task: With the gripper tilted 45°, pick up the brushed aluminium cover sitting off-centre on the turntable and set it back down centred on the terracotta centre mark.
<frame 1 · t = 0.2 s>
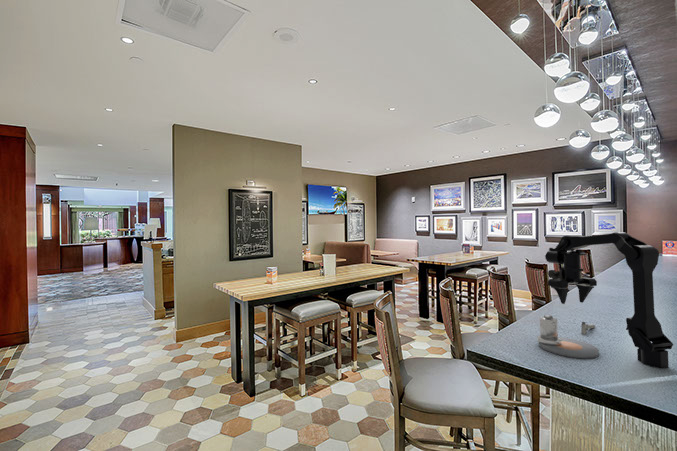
hand: (572, 303, 130), 15 cm above the countertop, tool pointing down, fingers open, 9 cm apart
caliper: (588, 332, 138), on the countertop
cover: (549, 342, 119), point 2 cm above the countertop, touching turntable
turntable: (567, 346, 116), point 2 cm above the countertop, hinge at 0.0°, touching cover
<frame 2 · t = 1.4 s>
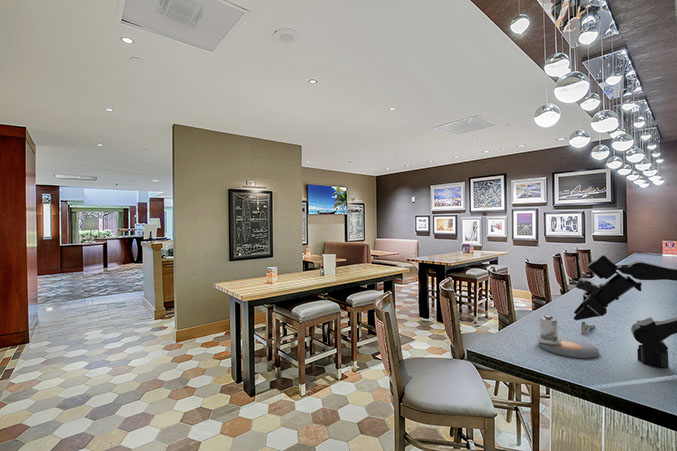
hand: (574, 316, 115), 13 cm above the countertop, tool tilted 45°, fingers open, 9 cm apart
nothing on the countertop moved.
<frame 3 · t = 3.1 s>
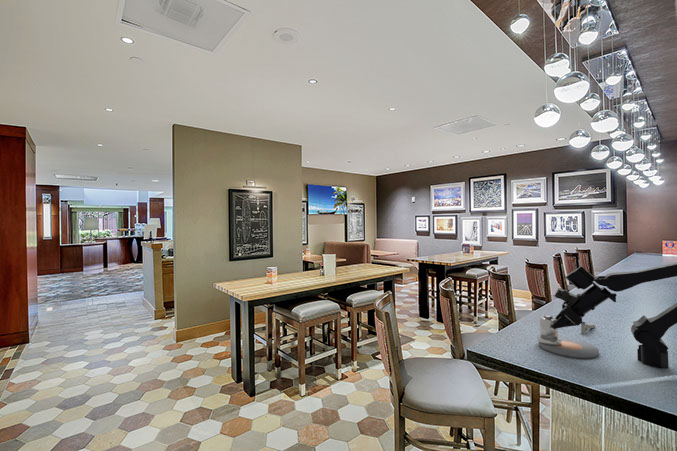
hand: (553, 324, 119), 9 cm above the countertop, tool tilted 45°, fingers open, 9 cm apart
nothing on the countertop moved.
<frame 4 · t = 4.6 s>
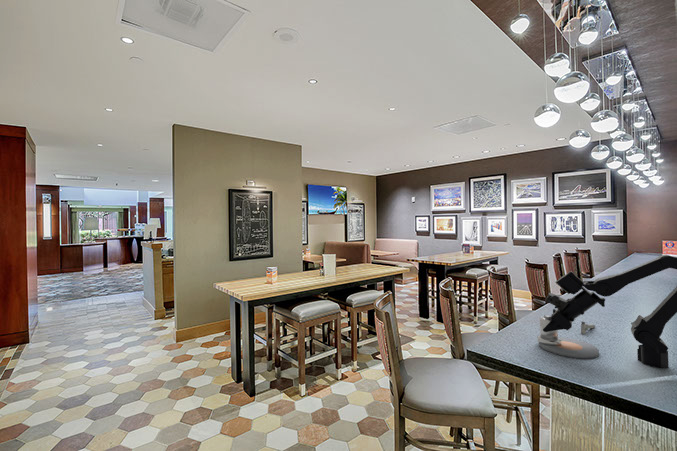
hand: (544, 328, 120), 7 cm above the countertop, tool tilted 45°, fingers closed on cover, 6 cm apart
cover: (549, 342, 119), point 2 cm above the countertop, touching gripper, turntable
everything else where it was.
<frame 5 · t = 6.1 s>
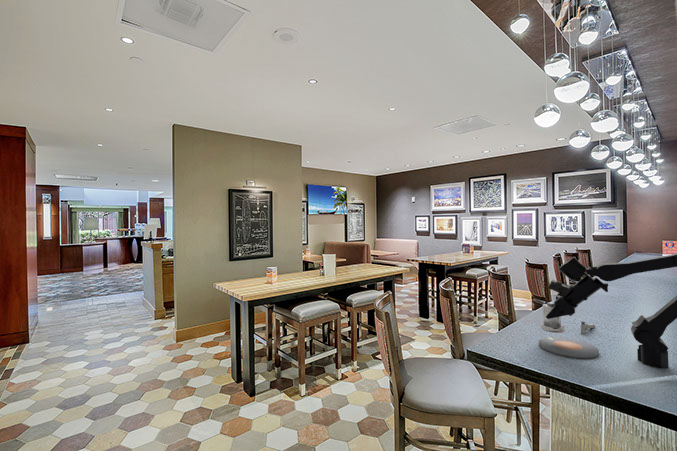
hand: (547, 316, 120), 12 cm above the countertop, tool tilted 45°, fingers closed on cover, 6 cm apart
cover: (552, 329, 119), point 7 cm above the countertop, touching gripper
turntable: (567, 346, 116), point 2 cm above the countertop, hinge at 0.0°
everything else where it was.
when the fingers open (8 cm above the countertop, at t = 8.1 s): cover drops 1 cm, resting on turntable.
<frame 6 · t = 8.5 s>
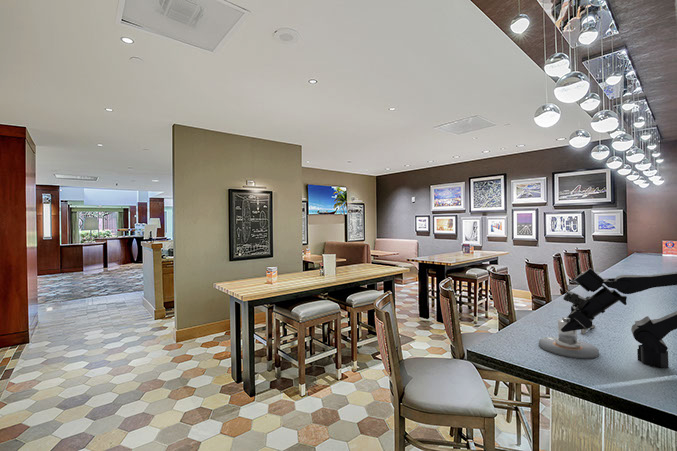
hand: (562, 327, 117), 9 cm above the countertop, tool tilted 45°, fingers open, 9 cm apart
cover: (567, 345, 116), point 2 cm above the countertop, touching turntable
turntable: (567, 346, 116), point 2 cm above the countertop, hinge at 0.0°, touching cover
everything else where it was.
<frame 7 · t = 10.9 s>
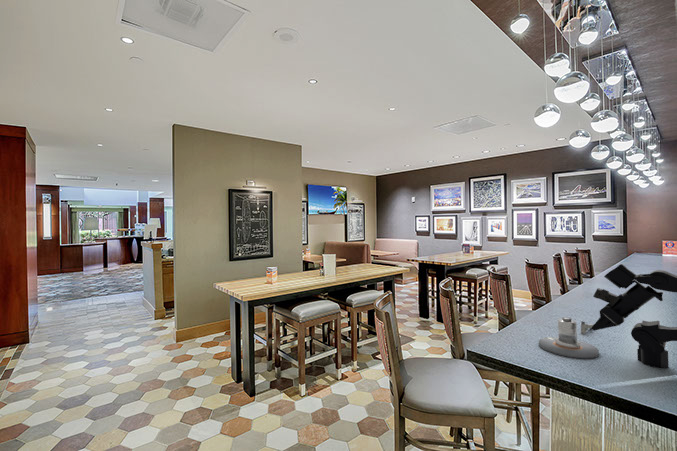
hand: (594, 327, 112), 10 cm above the countertop, tool tilted 40°, fingers open, 9 cm apart
nothing on the countertop moved.
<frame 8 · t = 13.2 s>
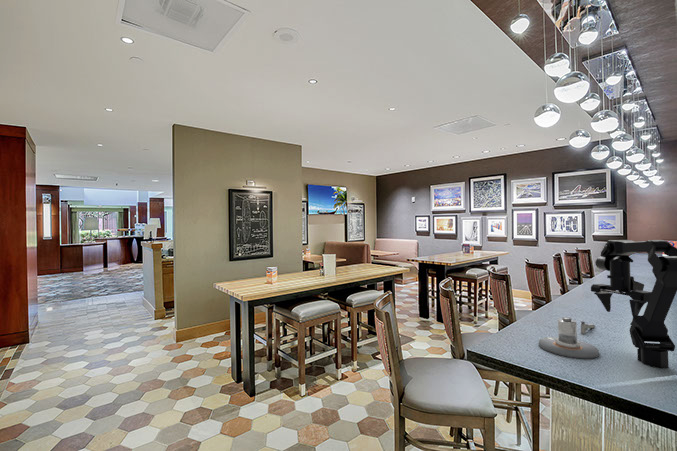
hand: (621, 314, 117), 13 cm above the countertop, tool pointing down, fingers open, 9 cm apart
nothing on the countertop moved.
at the end: cover 0.1 cm off-centre on the turntable, point 1.3 cm above the turntable's base; cover tilted 0°; the gripper is holding nothing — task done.
